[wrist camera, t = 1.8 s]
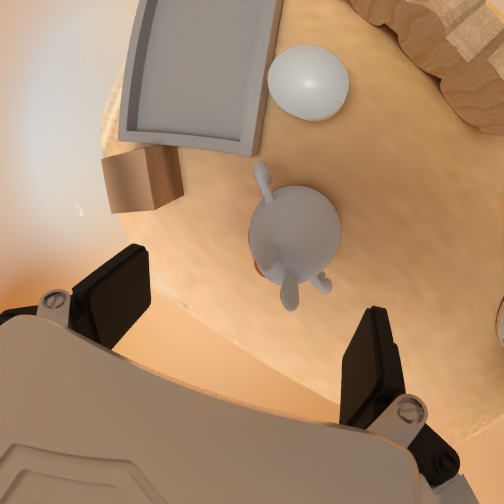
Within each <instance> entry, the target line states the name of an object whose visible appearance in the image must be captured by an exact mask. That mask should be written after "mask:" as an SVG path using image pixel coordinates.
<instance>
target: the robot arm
mask: <svg viewBox="0 0 504 504" xmlns="http://www.w3.org/2000/svg"><path fill="white" fill-rule="evenodd" d="M72 291H73V294H72V295H69V293H68V292H67V291H65V290H61V289H57V290H51V291H49V292H47V293H46V294H44V295H43V296H42V297H41V299H40V301H39V305H36V306H30V307H22V308H15V309H9V310H5V311H3V312H2V313H1V314H0V504H479V502H478V500H477V498H476V496H475V495H474V493H473V491H472V489H471V487H470V486H469V484H468V482H467V480H466V478H465V477H464V475H463V474H462V475H459V473H458V471H459V468H460V459H459V456H458V454H457V453H456V451H455V450H454V449H453V448H452V447H451V446H450V445H448V444H447V443H446V442H445V441H444V440H443V439H442V438H441V437H440V436H439V435H438V434H437V433H436V432H434V431H433V430H432V429H431V428H430V427H429V426H428V425H427V424H426V423H425V422H426V420H427V418H428V411H427V407H426V405H425V404H424V402H423V401H422V400H421V399H420V398H418V397H417V396H415V395H411V394H406V391H405V384H404V378H403V372H402V366H401V361H400V356H399V351H398V347H397V344H395V343H394V342H393V337H392V332H391V327H390V323H389V318H388V314H387V310H386V309H385V308H381V307H377V306H372V307H371V309H369V308H367V309H366V311H365V313H364V315H363V317H362V319H361V321H360V323H359V326H358V328H357V330H356V332H355V334H354V336H353V338H352V340H351V342H350V344H349V346H348V348H347V350H346V352H345V354H344V356H343V359H342V381H341V403H340V420H339V424H336V423H331V422H325V421H321V420H316V419H310V418H306V417H301V416H297V415H293V414H288V413H284V412H280V411H276V410H271V409H268V408H263V407H260V406H256V405H253V404H249V403H246V402H242V401H239V400H236V399H232V398H229V397H226V396H223V395H219V394H217V393H214V392H211V391H208V390H204V389H202V388H199V387H196V386H193V385H191V384H188V383H185V382H183V381H180V380H177V379H175V378H172V377H170V376H167V375H165V374H162V373H160V372H158V371H155V370H153V369H151V368H148V367H146V366H144V365H141V364H139V363H137V362H135V361H132V360H130V359H128V358H126V357H124V356H122V355H120V354H118V353H116V352H114V351H112V348H113V347H114V346H115V345H116V344H117V343H118V341H119V340H120V339H121V338H122V337H123V336H124V335H125V333H126V332H127V331H128V330H129V329H130V328H131V326H132V325H133V324H134V323H135V322H136V321H137V320H138V319H139V318H140V316H141V315H142V314H143V313H144V312H145V311H146V310H147V309H148V308H149V306H150V304H151V292H150V275H149V254H148V251H146V248H145V247H144V246H141V245H137V244H131V245H129V246H128V247H126V248H125V249H124V250H122V251H121V252H119V253H118V254H117V255H115V256H114V257H113V258H112V259H110V260H109V261H107V262H106V263H104V264H103V265H102V266H100V267H99V268H98V269H97V270H95V271H94V272H92V273H91V274H90V275H89V276H87V277H86V278H85V279H84V280H82V281H81V282H79V283H78V284H77V285H76V286H74V287H73V288H72ZM496 332H497V336H498V339H499V341H500V343H501V344H502V346H503V347H504V300H503V302H502V305H501V307H500V310H499V313H498V317H497V323H496Z"/></svg>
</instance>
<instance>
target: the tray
mask: <svg viewBox="0 0 504 504" xmlns="http://www.w3.org/2000/svg"><path fill="white" fill-rule="evenodd" d="M282 6H283V0H139V4H138V8H137V12H136V16H135V20H134V24H133V29H132V33H131V38H130V44H129V49H128V54H127V60H126V66H125V73H124V80H123V87H122V96H121V105H120V116H119V130H118V141H123V142H138V143H150V144H161V145H171V146H180V147H189V148H196V149H204V150H211V151H218V152H225V153H231V154H237V155H243V156H249V157H252V156H255V155H258V153H259V147H260V140H261V134H262V128H263V121H264V115H265V109H266V102H267V96H268V90H269V88H268V72H269V69H270V66H271V64H272V63H273V59H274V53H275V47H276V41H277V35H278V29H279V24H280V18H281V12H282Z"/></svg>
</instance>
